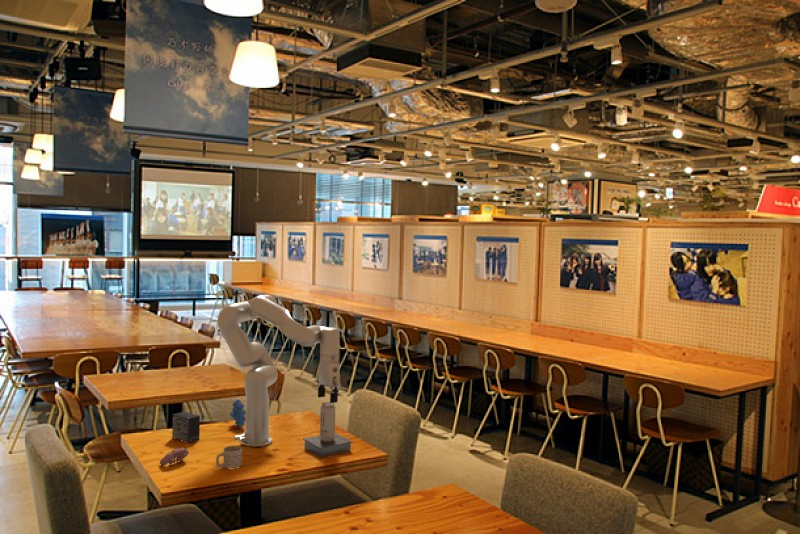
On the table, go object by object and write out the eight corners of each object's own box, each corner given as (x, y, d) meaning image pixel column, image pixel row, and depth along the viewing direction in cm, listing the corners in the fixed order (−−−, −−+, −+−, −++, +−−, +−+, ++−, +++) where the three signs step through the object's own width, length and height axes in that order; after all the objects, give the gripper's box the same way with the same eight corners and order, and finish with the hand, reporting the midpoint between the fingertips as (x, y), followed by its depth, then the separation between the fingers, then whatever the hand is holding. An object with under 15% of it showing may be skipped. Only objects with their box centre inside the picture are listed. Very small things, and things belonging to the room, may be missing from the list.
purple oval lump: (165, 471, 236) (170, 456, 234) (157, 464, 238) (163, 449, 236) (186, 464, 244) (192, 449, 242) (179, 456, 246) (185, 442, 244)
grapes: (224, 424, 292) (224, 398, 291) (238, 422, 296) (238, 396, 295) (234, 430, 283) (235, 404, 282) (249, 428, 287) (249, 402, 286)
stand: (320, 457, 250) (320, 447, 250) (302, 448, 261) (303, 438, 261) (352, 451, 259) (352, 441, 259) (334, 442, 270) (334, 432, 270)
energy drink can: (317, 439, 261) (317, 402, 260) (329, 436, 264) (330, 400, 264) (324, 443, 256) (325, 406, 255) (337, 440, 260) (338, 404, 259)
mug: (236, 461, 244) (236, 444, 244) (244, 466, 239) (245, 449, 239) (211, 467, 237) (212, 449, 237) (220, 472, 232) (220, 454, 232)
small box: (200, 439, 269) (201, 415, 269) (188, 443, 264) (188, 418, 263) (184, 435, 275) (184, 411, 274) (171, 438, 269) (171, 414, 269)
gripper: (348, 361, 254) (346, 403, 255) (326, 353, 268) (324, 394, 269) (332, 362, 250) (330, 405, 250) (310, 355, 263) (308, 396, 264)
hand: (327, 399), depth 260 cm, fingers open, 9 cm apart
